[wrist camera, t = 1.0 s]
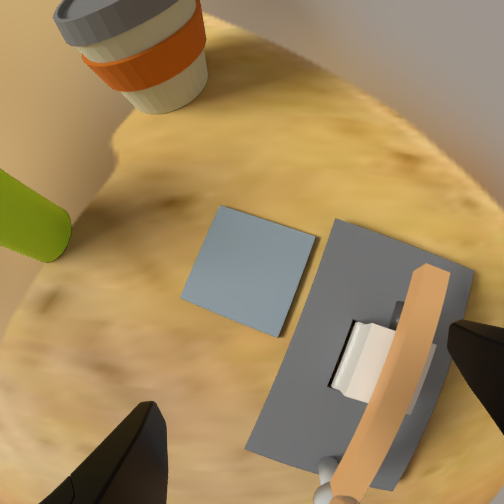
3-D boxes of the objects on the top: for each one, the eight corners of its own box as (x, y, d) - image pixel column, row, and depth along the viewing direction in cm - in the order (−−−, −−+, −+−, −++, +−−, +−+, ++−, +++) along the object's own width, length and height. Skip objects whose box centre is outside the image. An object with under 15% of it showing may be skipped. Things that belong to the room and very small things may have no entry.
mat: (315, 238, 24) (315, 236, 24) (278, 337, 23) (277, 337, 23) (221, 207, 26) (219, 205, 26) (181, 298, 25) (180, 297, 24)
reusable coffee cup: (239, 50, 31) (211, -61, 17) (199, 133, 29) (136, 7, 14) (148, 50, 34) (102, -36, 19) (101, 125, 31) (26, 38, 17)
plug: (412, 319, 22) (448, 312, 16) (384, 399, 21) (412, 419, 14) (359, 300, 23) (380, 287, 17) (328, 381, 22) (339, 398, 15)
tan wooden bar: (442, 282, 16) (457, 275, 14) (343, 515, 13) (347, 532, 11) (406, 268, 16) (418, 260, 14) (306, 506, 14) (306, 523, 12)
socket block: (465, 274, 22) (508, 254, 16) (388, 483, 18) (411, 521, 12) (333, 225, 25) (343, 188, 18) (247, 442, 21) (229, 475, 15)
